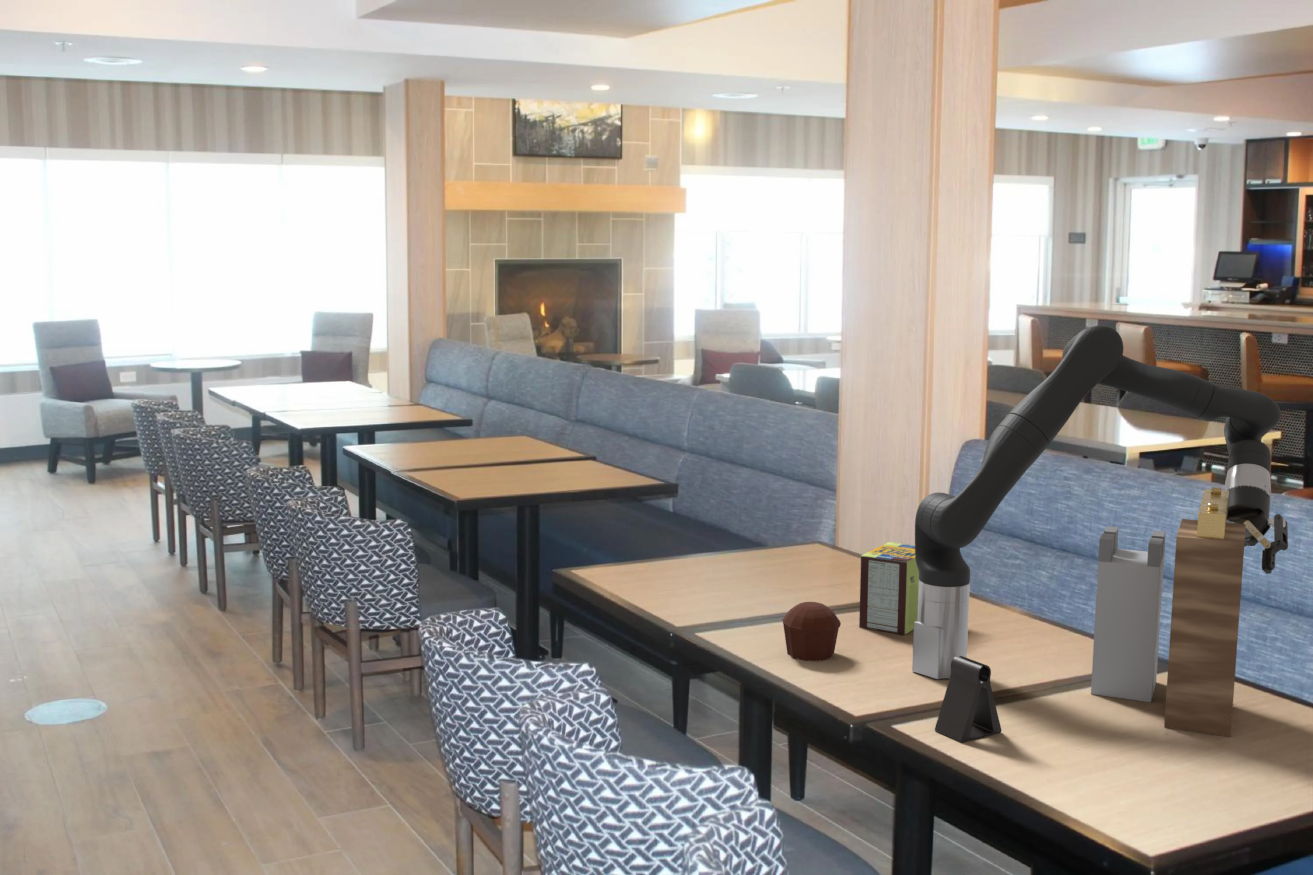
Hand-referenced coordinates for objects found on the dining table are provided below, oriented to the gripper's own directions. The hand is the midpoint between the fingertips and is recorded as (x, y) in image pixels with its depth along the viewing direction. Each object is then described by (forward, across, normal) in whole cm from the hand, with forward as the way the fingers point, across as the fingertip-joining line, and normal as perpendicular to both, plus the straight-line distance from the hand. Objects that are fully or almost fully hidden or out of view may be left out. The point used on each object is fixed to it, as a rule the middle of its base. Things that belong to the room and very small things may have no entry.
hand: (1241, 574), depth 224 cm
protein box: (+3, -72, -3) cm, 72 cm away
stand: (+25, -7, +2) cm, 26 cm away
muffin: (+22, -70, -27) cm, 78 cm away
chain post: (+18, -22, +3) cm, 29 cm away
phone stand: (+41, -28, -29) cm, 58 cm away
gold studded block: (-3, +1, -13) cm, 13 cm away
